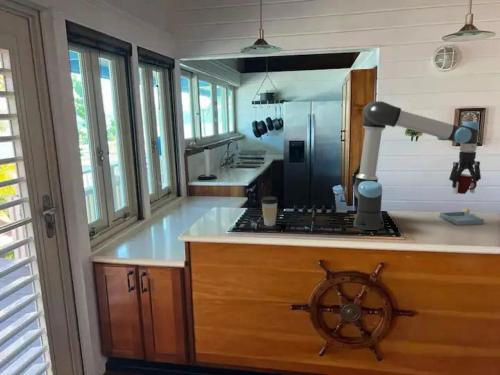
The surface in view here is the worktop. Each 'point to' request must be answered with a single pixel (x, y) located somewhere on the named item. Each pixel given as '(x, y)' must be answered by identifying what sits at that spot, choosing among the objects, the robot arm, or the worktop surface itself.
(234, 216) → the worktop surface
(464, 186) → the mug
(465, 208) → the ball
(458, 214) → the tray
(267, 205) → the coffee cup
